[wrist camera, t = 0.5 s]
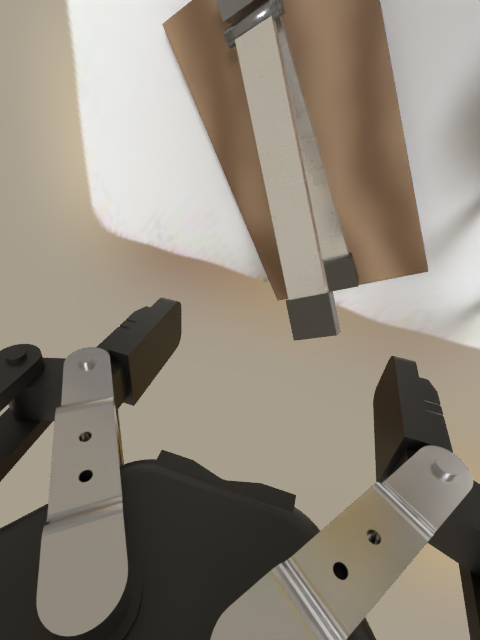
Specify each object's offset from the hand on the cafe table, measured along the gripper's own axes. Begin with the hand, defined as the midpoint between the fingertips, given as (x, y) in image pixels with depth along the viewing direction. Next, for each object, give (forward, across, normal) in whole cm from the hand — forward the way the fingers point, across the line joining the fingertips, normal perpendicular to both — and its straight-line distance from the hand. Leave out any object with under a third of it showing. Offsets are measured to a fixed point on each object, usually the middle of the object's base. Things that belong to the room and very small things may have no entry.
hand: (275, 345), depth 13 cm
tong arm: (+17, +3, -2) cm, 18 cm away
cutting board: (+25, +3, -3) cm, 26 cm away
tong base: (+24, +3, -3) cm, 24 cm away
